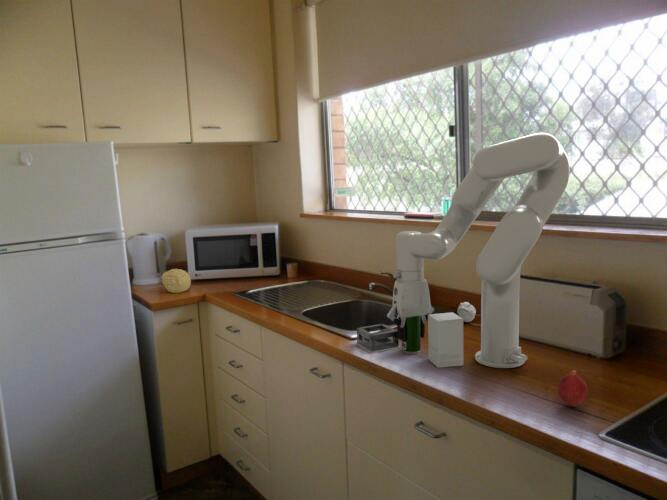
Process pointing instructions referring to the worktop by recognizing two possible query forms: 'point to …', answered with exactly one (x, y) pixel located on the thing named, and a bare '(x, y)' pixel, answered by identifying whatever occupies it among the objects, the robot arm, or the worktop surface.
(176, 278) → the pale yellow bumpy ball
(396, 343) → the collar stand
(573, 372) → the onion
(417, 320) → the beer can
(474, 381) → the worktop surface
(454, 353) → the supplement box
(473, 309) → the crumpled paper ball
